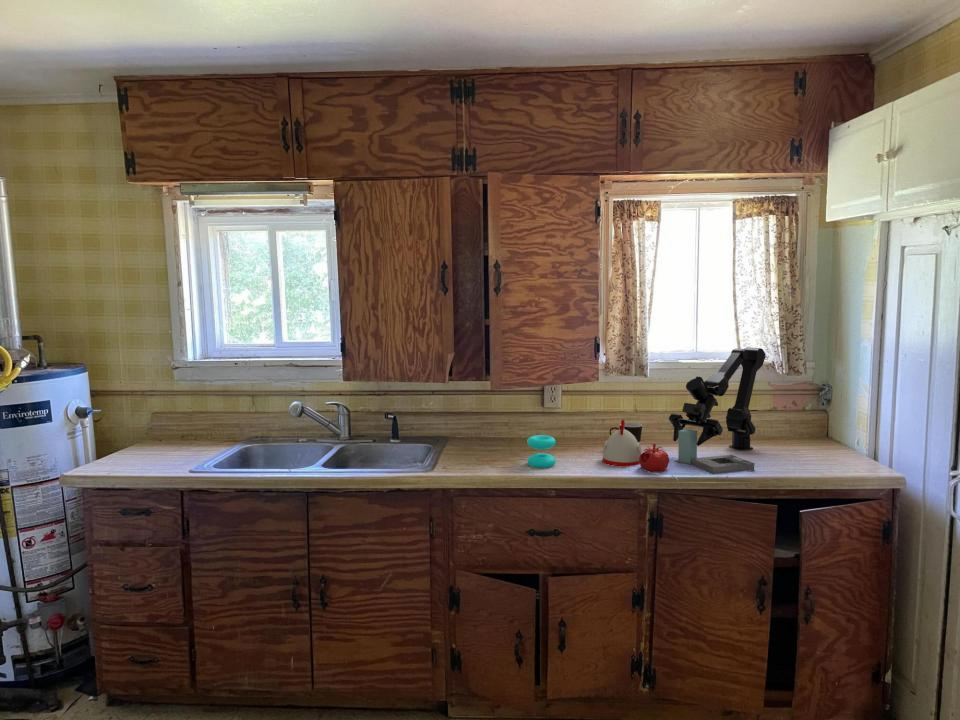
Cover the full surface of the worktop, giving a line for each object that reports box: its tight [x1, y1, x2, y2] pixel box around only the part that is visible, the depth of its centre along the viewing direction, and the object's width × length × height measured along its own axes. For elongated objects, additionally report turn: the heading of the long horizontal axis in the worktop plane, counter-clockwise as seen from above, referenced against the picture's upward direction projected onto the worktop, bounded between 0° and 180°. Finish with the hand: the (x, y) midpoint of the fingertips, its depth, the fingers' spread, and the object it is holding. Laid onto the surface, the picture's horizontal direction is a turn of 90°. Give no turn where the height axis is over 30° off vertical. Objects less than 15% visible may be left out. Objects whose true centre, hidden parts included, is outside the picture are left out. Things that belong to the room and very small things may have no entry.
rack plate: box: [691, 454, 755, 475], centre depth 213 cm, size 12×16×3 cm
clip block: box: [677, 428, 698, 464], centre depth 220 cm, size 4×4×11 cm
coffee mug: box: [609, 422, 643, 443], centre depth 240 cm, size 12×9×10 cm
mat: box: [673, 459, 693, 466], centre depth 221 cm, size 7×7×1 cm
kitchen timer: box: [602, 419, 643, 467], centre depth 223 cm, size 14×14×15 cm
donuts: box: [526, 434, 557, 469], centre depth 220 cm, size 10×10×10 cm
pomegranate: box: [639, 443, 670, 473], centre depth 212 cm, size 10×10×9 cm
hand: (685, 443), depth 219 cm, fingers open, 9 cm apart
